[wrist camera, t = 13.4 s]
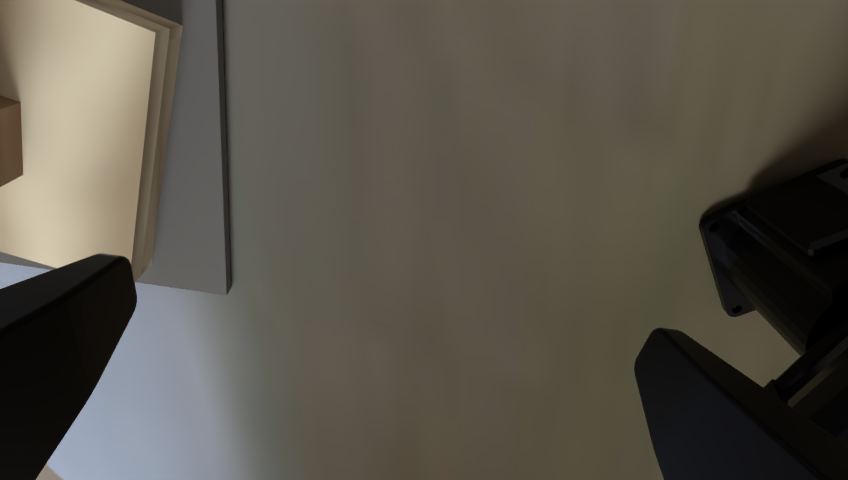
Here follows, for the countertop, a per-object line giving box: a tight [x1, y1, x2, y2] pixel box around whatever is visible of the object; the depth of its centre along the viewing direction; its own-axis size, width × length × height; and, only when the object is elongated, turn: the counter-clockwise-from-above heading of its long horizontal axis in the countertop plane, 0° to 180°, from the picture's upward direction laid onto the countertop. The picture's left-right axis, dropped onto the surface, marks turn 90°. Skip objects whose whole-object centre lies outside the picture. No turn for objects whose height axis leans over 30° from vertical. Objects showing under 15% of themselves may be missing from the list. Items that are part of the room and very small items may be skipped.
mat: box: [0, 0, 231, 295], centre depth 19 cm, size 16×16×1 cm
